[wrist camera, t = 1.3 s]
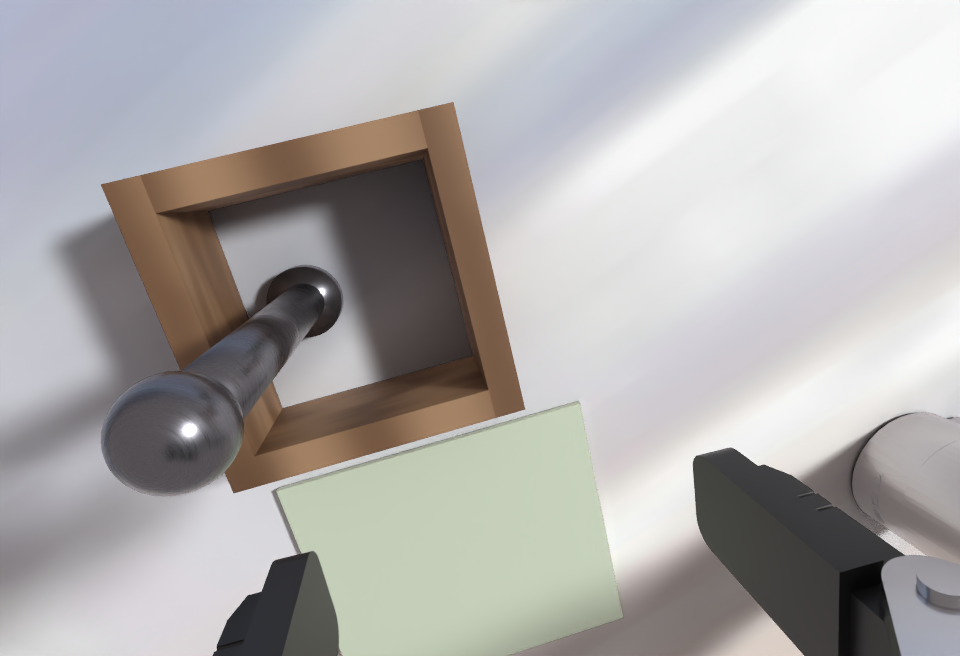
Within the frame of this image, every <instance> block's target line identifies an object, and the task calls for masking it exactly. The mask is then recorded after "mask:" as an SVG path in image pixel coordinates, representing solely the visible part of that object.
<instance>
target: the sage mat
mask: <svg viewBox="0 0 960 656" xmlns="http://www.w3.org/2000/svg"><path fill="white" fill-rule="evenodd" d="M276 492H277V494H278V497H279V499H280V502H281V504H282V507H283V509H284V512H285V514H286V517H287V519H288V522H289V524H290V527H291V529H292V532H293V534H294V537H295V539H296V542H297V544H298V547H299V549H300V551H301V554H302V553H306V552H310V551H314V552H315V553H316V554H317V556H318V558H319V561H320V564H321V567H322V570H323V573H324V577H325V580H326V583H327V586H328V589H329V592H330V595H331V599H332V602H333V605H334V608H335V611H336V615H337V621H338V629H339V648H340V651H341V653H342V656H509V655H512V654H515V653H518V652H521V651H524V650H527V649H530V648H533V647H536V646H539V645H542V644H545V643H548V642H551V641H554V640H557V639H560V638H563V637H566V636H570V635H573V634H576V633H579V632H582V631H585V630H588V629H591V628H594V627H597V626H600V625H603V624H606V623H609V622H612V621H615V620H618V619H621V618H623V615H622V610H621V605H620V600H619V595H618V590H617V585H616V580H615V575H614V569H613V564H612V559H611V554H610V549H609V544H608V539H607V534H606V529H605V524H604V519H603V514H602V509H601V504H600V499H599V494H598V489H597V484H596V479H595V474H594V469H593V464H592V459H591V454H590V449H589V444H588V439H587V434H586V429H585V424H584V419H583V414H582V409H581V404H580V402H579V401H577V402H573V403H570V404H566V405H563V406H559V407H556V408H553V409H549V410H546V411H542V412H539V413H535V414H532V415H528V416H525V417H521V418H518V419H514V420H511V421H508V422H504V423H501V424H497V425H494V426H490V427H487V428H483V429H480V430H476V431H473V432H470V433H466V434H463V435H459V436H456V437H452V438H449V439H445V440H442V441H438V442H435V443H432V444H428V445H425V446H421V447H418V448H414V449H411V450H407V451H404V452H400V453H397V454H394V455H390V456H387V457H383V458H380V459H376V460H373V461H369V462H366V463H362V464H359V465H355V466H352V467H349V468H345V469H342V470H338V471H335V472H331V473H328V474H324V475H321V476H317V477H314V478H311V479H307V480H304V481H300V482H297V483H293V484H290V485H286V486H283V487H279V488H278V489H277V491H276Z"/></svg>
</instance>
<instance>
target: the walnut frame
mask: <svg viewBox="0 0 960 656" xmlns="http://www.w3.org/2000/svg"><path fill="white" fill-rule="evenodd" d="M421 159H423V162H424V166H425V170H426V174H427V178H428V182H429V185H430V189H431V193H432V197H433V201H434V205H435V209H436V213H437V217H438V221H439V224H440V228H441V232H442V236H443V240H444V244H445V248H446V252H447V256H448V260H449V263H450V267H451V271H452V275H453V279H454V283H455V287H456V291H457V295H458V299H459V302H460V306H461V310H462V314H463V318H464V322H465V326H466V330H467V334H468V338H469V341H470V345H471V349H472V353H473V356H470V357H467V358H463V359H459V360H456V361H452V362H448V363H445V364H441V365H438V366H434V367H430V368H427V369H423V370H420V371H416V372H412V373H409V374H405V375H401V376H398V377H394V378H391V379H387V380H383V381H380V382H376V383H373V384H369V385H365V386H362V387H358V388H355V389H351V390H347V391H344V392H340V393H336V394H333V395H329V396H326V397H322V398H318V399H315V400H311V401H308V402H304V403H300V404H297V405H293V406H289V407H286V408H282V406H281V403H280V400H279V398H278V395H277V392H276V390H275V387H274V384H273V382H271V383H270V385H269V386H268V387H267V389H266V390H265V391H264V393H263V394H262V395H261V397H260V398H259V400H258V401H257V402H256V404H255V405H254V406H253V408H252V409H251V410H250V412H249V413H248V415H247V416H246V417H245V419H244V437H243V441H242V445H241V448H240V450H239V452H238V454H237V456H236V458H235V459H234V461H233V462H232V464H231V465H230V466H229V467H228V469H227V470H226V471H225V474H226V477H227V479H228V481H229V484H230V486H231V488H232V491H233V493H237V492H240V491H244V490H247V489H250V488H254V487H257V486H261V485H264V484H268V483H271V482H275V481H278V480H282V479H285V478H289V477H292V476H296V475H299V474H303V473H306V472H309V471H313V470H316V469H320V468H323V467H327V466H330V465H334V464H337V463H341V462H344V461H348V460H351V459H355V458H358V457H362V456H365V455H368V454H372V453H375V452H379V451H382V450H386V449H389V448H393V447H396V446H400V445H403V444H407V443H410V442H414V441H417V440H421V439H424V438H428V437H431V436H434V435H438V434H441V433H445V432H448V431H452V430H455V429H459V428H462V427H466V426H469V425H473V424H476V423H480V422H483V421H487V420H490V419H493V418H497V417H500V416H504V415H507V414H511V413H514V412H518V411H521V410H525V407H524V402H523V398H522V394H521V390H520V385H519V381H518V377H517V372H516V368H515V364H514V360H513V355H512V351H511V347H510V343H509V338H508V334H507V330H506V325H505V321H504V317H503V313H502V308H501V304H500V300H499V295H498V291H497V287H496V283H495V278H494V274H493V270H492V265H491V261H490V257H489V253H488V248H487V244H486V240H485V235H484V231H483V227H482V223H481V218H480V214H479V210H478V205H477V201H476V197H475V193H474V188H473V184H472V180H471V175H470V171H469V167H468V163H467V158H466V154H465V150H464V145H463V141H462V137H461V133H460V128H459V124H458V120H457V116H456V111H455V107H454V103H453V102H452V103H447V104H443V105H439V106H435V107H430V108H426V109H422V110H417V111H413V112H409V113H405V114H400V115H396V116H392V117H388V118H383V119H379V120H375V121H370V122H366V123H362V124H358V125H353V126H349V127H345V128H341V129H336V130H332V131H328V132H323V133H319V134H315V135H311V136H306V137H302V138H298V139H294V140H289V141H285V142H281V143H276V144H272V145H268V146H264V147H259V148H255V149H251V150H247V151H242V152H238V153H234V154H229V155H225V156H221V157H217V158H212V159H208V160H204V161H200V162H195V163H191V164H187V165H182V166H178V167H174V168H170V169H165V170H161V171H157V172H153V173H148V174H144V175H140V176H135V177H131V178H127V179H123V180H118V181H114V182H110V183H106V184H101V186H102V188H103V191H104V193H105V195H106V198H107V200H108V202H109V205H110V207H111V209H112V212H113V214H114V216H115V219H116V221H117V223H118V225H119V228H120V230H121V232H122V235H123V237H124V239H125V242H126V244H127V246H128V249H129V251H130V253H131V256H132V258H133V260H134V263H135V265H136V267H137V270H138V272H139V274H140V277H141V279H142V281H143V284H144V286H145V288H146V291H147V293H148V295H149V298H150V300H151V302H152V305H153V307H154V309H155V312H156V314H157V316H158V318H159V321H160V323H161V325H162V328H163V330H164V332H165V335H166V337H167V339H168V342H169V344H170V346H171V349H172V351H173V353H174V356H175V358H176V360H177V363H178V365H179V367H180V370H183V369H184V368H185V367H187V366H188V365H189V364H190V363H192V362H193V361H194V360H196V359H197V358H198V357H200V356H201V355H202V354H204V353H205V352H206V351H208V350H209V349H210V348H212V347H213V346H214V345H216V344H217V343H218V342H220V341H221V340H222V339H223V338H225V337H226V336H227V335H229V334H230V333H231V332H233V331H234V330H235V329H237V328H238V327H239V326H241V325H242V324H243V323H245V322H246V321H247V320H249V318H248V316H247V313H246V310H245V308H244V305H243V303H242V300H241V297H240V295H239V292H238V289H237V287H236V284H235V281H234V279H233V276H232V274H231V271H230V268H229V266H228V263H227V260H226V258H225V255H224V252H223V250H222V247H221V245H220V242H219V239H218V237H217V234H216V231H215V229H214V226H213V223H212V221H211V218H210V215H209V213H208V211H210V210H214V209H218V208H222V207H227V206H231V205H235V204H239V203H243V202H247V201H251V200H255V199H260V198H264V197H268V196H272V195H276V194H280V193H284V192H288V191H293V190H297V189H301V188H305V187H309V186H313V185H317V184H322V183H326V182H330V181H334V180H338V179H342V178H346V177H350V176H355V175H359V174H363V173H367V172H371V171H375V170H379V169H383V168H388V167H392V166H396V165H400V164H404V163H408V162H412V161H416V160H421Z"/></svg>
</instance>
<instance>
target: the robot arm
mask: <svg viewBox="0 0 960 656" xmlns="http://www.w3.org/2000/svg"><path fill="white" fill-rule="evenodd" d="M693 474H694V488H695V501H696V515H697V522H698V526H699V529H700V532H701V534H702V536H703V538H704V540H705V542H706V544H707V545H708V547H709V548H710V549H711V551H712V552H713V553H714V554H715V555H716V556H717V557H718V558H719V560H720V561H721V562H722V563H723V564H724V565H725V566H726V568H727V569H728V570H729V571H730V572H731V573H732V574H733V575H734V577H735V578H736V579H737V580H738V581H739V582H740V583H741V584H742V586H743V587H744V588H745V589H746V590H747V591H748V592H749V594H750V595H751V596H752V597H753V598H754V599H755V600H756V601H757V603H758V604H759V605H760V606H761V607H762V608H763V609H764V610H765V612H766V613H767V614H768V615H769V616H770V617H771V618H772V620H773V621H774V622H775V623H776V624H777V625H778V626H779V627H780V629H781V630H782V631H783V632H784V633H785V634H786V635H787V636H788V638H789V639H790V640H791V641H792V642H793V643H794V644H795V646H796V647H797V648H798V649H799V650H800V651H801V652H802V653H803V655H804V656H960V417H955V418H952V419H946V418H943V417H941V416H938V415H936V414H931V413H925V412H922V413H912V414H908V415H905V416H902V417H899V418H897V419H895V420H893V421H892V422H890V423H888V424H887V425H885V426H884V427H883V428H881V429H880V430H879V431H878V432H877V433H876V434H875V435H874V436H873V437H872V438H871V439H870V440H869V441H868V443H867V444H866V446H865V447H864V448H863V450H862V451H861V453H860V455H859V457H858V460H857V462H856V465H855V468H854V472H853V478H852V489H853V495H854V498H855V500H856V502H857V505H858V506H859V507H860V508H861V510H862V511H863V512H864V513H866V514H867V515H868V516H870V517H871V518H873V519H874V520H876V521H877V522H879V523H880V524H882V525H883V526H885V527H886V528H888V529H889V530H890V531H892V532H893V533H895V534H896V535H898V536H899V537H901V538H902V539H904V540H905V541H907V542H908V543H909V544H911V545H912V546H914V547H915V548H916V549H918V550H919V551H921V552H922V553H924V554H925V555H927V556H922V555H907V556H905V555H904V554H902V553H901V552H899V551H898V550H897V549H895V548H894V547H892V546H891V545H890V544H888V543H887V542H885V541H884V540H882V539H881V538H880V537H878V536H877V535H875V534H874V533H872V532H871V531H870V530H868V529H867V528H865V527H864V526H863V525H861V524H860V523H858V522H857V521H855V520H854V519H853V518H851V517H850V516H848V515H847V514H846V513H844V512H843V511H841V510H840V509H838V508H837V507H833V506H832V505H831V503H830V502H829V501H827V500H826V499H824V498H823V497H821V496H820V495H819V494H814V492H813V490H812V489H810V488H809V487H807V486H806V485H804V484H803V483H802V482H800V481H799V480H797V479H796V478H794V477H793V476H792V475H789V474H787V473H784V472H782V471H779V470H776V469H774V468H771V467H769V466H766V465H761V466H757V465H756V464H754V463H753V462H752V461H750V460H749V459H748V458H746V457H745V456H744V455H742V454H741V453H740V452H738V451H737V450H735V449H733V448H726V449H722V450H718V451H714V452H710V453H706V454H702V455H698V456H696V457H695V458H694V461H693ZM338 647H339V629H338V621H337V615H336V611H335V608H334V605H333V602H332V599H331V595H330V592H329V589H328V586H327V583H326V580H325V577H324V573H323V570H322V567H321V564H320V561H319V558H318V556H317V554H316V553H315V552H314V551H310V552H306V553H302V554H298V555H294V556H290V557H286V558H282V559H278V560H275V561H274V562H273V563H272V565H271V567H270V570H269V573H268V576H267V578H266V581H265V584H264V587H263V589H262V592H259V593H256V594H252V595H248V596H247V597H246V598H245V600H244V601H243V602H242V603H241V604H240V606H239V607H238V608H237V609H236V611H235V612H234V613H233V614H232V615H231V617H230V618H229V619H228V620H227V623H226V625H225V627H224V630H223V632H222V635H221V637H220V639H219V642H218V644H217V651H216V652H214V654H213V656H337V655H338Z"/></svg>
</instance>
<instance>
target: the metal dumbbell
mask: <svg viewBox="0 0 960 656" xmlns="http://www.w3.org/2000/svg"><path fill="white" fill-rule="evenodd" d="M342 307H343V295H342V291H341V288H340V286H339V284H338V282H337V281H336V280H335V278H334V277H333V276H332V275H331V274H329V273H328V272H327V271H325V270H323V269H321V268H319V267H316V266H311V265H300V266H295V267H292V268H290V269H288V270H286V271H284V272H283V273H281V274H280V275H279V276H277V277H276V278H275V279H274V281H273V282H272V284H271V285H270V287H269V290H268V293H267V306H266V307H264V308H263V309H262V310H260V311H259V312H258V313H256V314H255V315H254V316H252V317H251V318H250V319H249V320H247V321H246V322H245V323H243V324H242V325H241V326H239V327H238V328H237V329H235V330H234V331H233V332H231V333H230V334H229V335H227V336H226V337H225V338H223V339H222V340H221V341H220V342H218V343H217V344H216V345H214V346H213V347H212V348H210V349H209V350H208V351H206V352H205V353H204V354H202V355H201V356H200V357H198V358H197V359H196V360H194V361H193V362H192V363H190V364H189V365H188V366H187V367H185V368H184V369H183V370H181V371H170V372H164V373H160V374H156V375H153V376H150V377H148V378H145V379H143V380H141V381H139V382H138V383H136V384H134V385H133V386H131V387H130V388H129V389H127V390H126V391H125V392H124V393H123V394H122V395H121V396H120V397H119V398H118V399H117V400H116V401H115V403H114V404H113V405H112V407H111V408H110V410H109V412H108V413H107V416H106V418H105V421H104V423H103V427H102V432H101V449H102V453H103V456H104V459H105V461H106V464H107V466H108V467H109V469H110V471H111V472H112V473H113V474H114V476H115V477H116V478H117V479H118V480H120V481H121V482H122V483H123V484H125V485H126V486H128V487H130V488H131V489H134V490H136V491H138V492H141V493H144V494H149V495H155V496H176V495H181V494H186V493H190V492H193V491H196V490H198V489H200V488H202V487H204V486H206V485H208V484H210V483H211V482H213V481H214V480H216V479H217V478H218V477H219V476H221V475H222V474H223V473H224V472H225V471H226V470H227V469H228V467H229V466H230V465H231V464H232V462H233V461H234V459H235V458H236V456H237V454H238V452H239V450H240V448H241V445H242V441H243V437H244V419H245V417H246V416H247V415H248V413H249V412H250V410H251V409H252V408H253V406H254V405H255V404H256V402H257V401H258V400H259V398H260V397H261V395H262V394H263V393H264V391H265V390H266V389H267V387H268V386H269V385H270V383H271V382H272V381H273V379H274V378H275V376H276V375H277V374H278V372H279V371H280V370H281V368H282V367H283V366H284V364H285V363H286V361H287V360H288V359H289V357H290V356H291V355H292V353H293V352H294V351H295V349H296V348H297V346H298V345H299V344H300V342H301V341H302V340H303V338H304V337H314V336H317V335H320V334H322V333H324V332H326V331H327V330H329V329H330V328H331V327H332V326H333V325H334V324H335V322H336V321H337V319H338V317H339V315H340V313H341V311H342Z"/></svg>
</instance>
